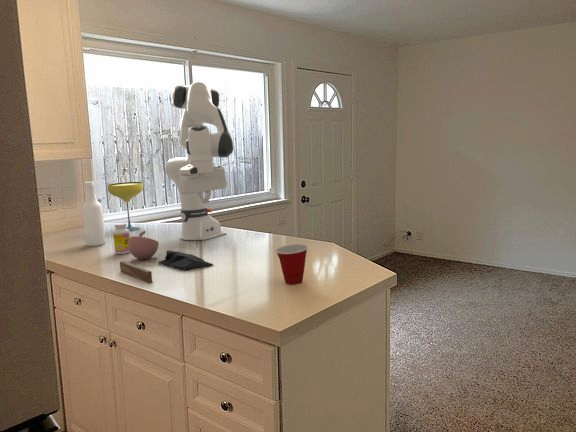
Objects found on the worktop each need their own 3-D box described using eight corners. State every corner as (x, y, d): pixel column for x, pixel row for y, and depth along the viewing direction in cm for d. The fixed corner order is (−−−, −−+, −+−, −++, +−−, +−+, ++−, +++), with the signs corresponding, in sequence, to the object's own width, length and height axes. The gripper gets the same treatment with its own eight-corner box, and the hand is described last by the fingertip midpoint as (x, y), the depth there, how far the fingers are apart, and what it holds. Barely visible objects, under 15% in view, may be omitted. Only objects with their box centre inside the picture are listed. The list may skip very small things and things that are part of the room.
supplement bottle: (126, 254, 212) (123, 225, 210) (112, 254, 213) (109, 225, 211) (134, 250, 219) (131, 222, 216) (120, 250, 220) (117, 222, 218)
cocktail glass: (106, 230, 269) (101, 184, 264) (137, 225, 281) (133, 181, 276) (121, 234, 256) (116, 186, 251) (153, 228, 268) (148, 182, 263)
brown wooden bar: (124, 271, 186) (123, 260, 186) (152, 282, 170) (151, 271, 170) (120, 272, 185) (119, 261, 185) (148, 283, 169) (147, 272, 169)
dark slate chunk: (179, 275, 179) (178, 262, 178) (155, 264, 196) (154, 252, 196) (216, 266, 188) (215, 254, 187) (190, 256, 206) (189, 245, 205)
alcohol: (90, 247, 229) (82, 183, 224) (83, 244, 235) (76, 182, 230) (109, 244, 234) (102, 181, 229) (102, 241, 241) (95, 180, 236)
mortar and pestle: (165, 255, 207) (163, 228, 205) (148, 263, 196) (145, 235, 194) (141, 254, 211) (138, 228, 209) (123, 261, 200) (120, 234, 198)
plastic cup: (275, 278, 168) (274, 244, 166) (307, 276, 169) (305, 242, 167) (277, 288, 158) (276, 252, 156) (311, 286, 159) (310, 250, 157)
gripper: (219, 164, 202) (221, 198, 204) (175, 170, 188) (178, 206, 191) (228, 165, 197) (231, 199, 200) (184, 171, 184) (187, 207, 186)
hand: (205, 202), depth 195 cm, fingers closed
